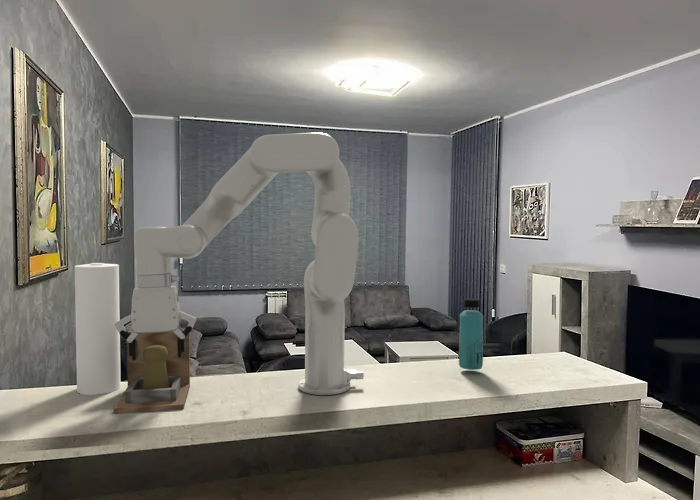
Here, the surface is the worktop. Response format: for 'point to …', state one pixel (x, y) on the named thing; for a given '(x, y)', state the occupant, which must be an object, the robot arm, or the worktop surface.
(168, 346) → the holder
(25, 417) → the worktop surface
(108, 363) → the cylinder container
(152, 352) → the cork
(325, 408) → the worktop surface
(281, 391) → the worktop surface
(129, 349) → the robot arm
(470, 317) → the beverage bottle
